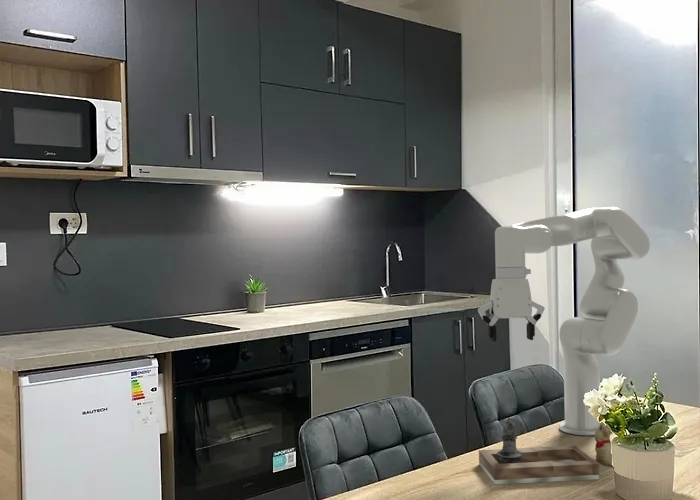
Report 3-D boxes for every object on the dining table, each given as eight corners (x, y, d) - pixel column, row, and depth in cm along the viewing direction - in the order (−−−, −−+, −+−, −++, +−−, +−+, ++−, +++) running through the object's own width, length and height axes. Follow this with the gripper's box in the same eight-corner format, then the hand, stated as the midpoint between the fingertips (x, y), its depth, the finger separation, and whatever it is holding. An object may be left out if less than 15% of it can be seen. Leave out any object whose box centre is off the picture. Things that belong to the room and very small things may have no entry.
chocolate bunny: (619, 457, 177) (618, 417, 177) (617, 467, 170) (617, 425, 170) (595, 455, 180) (594, 415, 179) (593, 465, 172) (592, 423, 172)
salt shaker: (521, 464, 171) (520, 414, 170) (524, 472, 165) (523, 420, 165) (495, 464, 171) (494, 414, 171) (498, 472, 166) (497, 420, 165)
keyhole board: (575, 459, 176) (574, 445, 176) (599, 479, 162) (598, 463, 162) (479, 464, 175) (478, 450, 175) (494, 484, 161) (494, 468, 161)
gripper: (538, 272, 190) (539, 336, 190) (473, 274, 188) (475, 339, 189) (548, 273, 182) (549, 341, 183) (481, 275, 181) (482, 343, 181)
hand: (511, 340), depth 186 cm, fingers open, 9 cm apart
